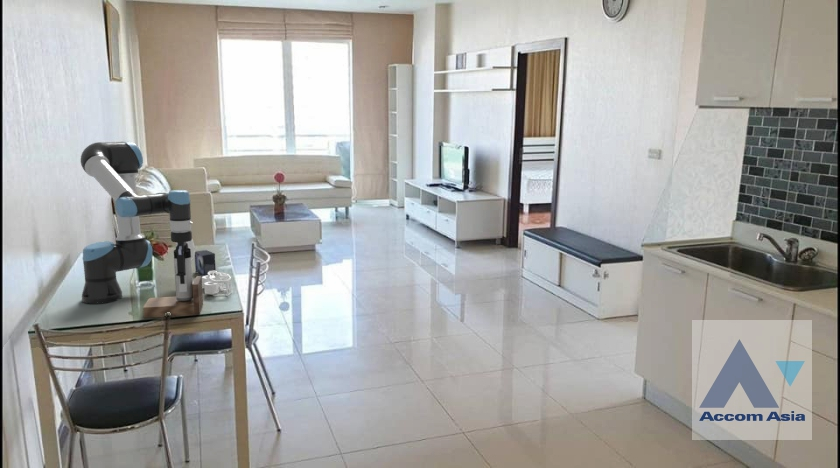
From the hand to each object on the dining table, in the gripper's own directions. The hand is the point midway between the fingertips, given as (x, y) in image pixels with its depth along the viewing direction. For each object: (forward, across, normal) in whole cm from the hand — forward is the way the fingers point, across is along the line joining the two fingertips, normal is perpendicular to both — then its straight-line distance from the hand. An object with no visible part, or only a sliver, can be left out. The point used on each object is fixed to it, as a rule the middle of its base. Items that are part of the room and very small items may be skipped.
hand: (184, 289), depth 243 cm
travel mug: (+4, 0, 0) cm, 4 cm away
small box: (+9, +59, -2) cm, 60 cm away
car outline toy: (+9, +25, -10) cm, 29 cm away
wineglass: (+9, +39, +4) cm, 40 cm away
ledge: (+9, 0, +4) cm, 10 cm away
